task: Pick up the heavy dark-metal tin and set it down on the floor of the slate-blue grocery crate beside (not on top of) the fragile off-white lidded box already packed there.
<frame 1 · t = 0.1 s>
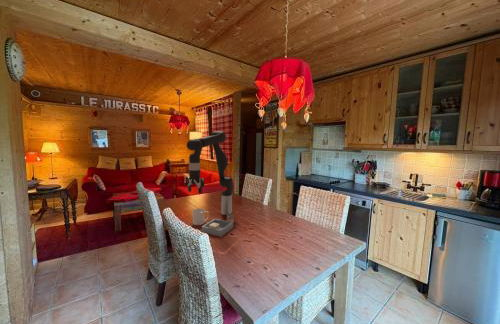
hand: (194, 192, 142), 29 cm above the table, fingers open, 8 cm apart
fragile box: (214, 232, 145), point 1 cm above the table, touching crate, lid
tin: (230, 225, 160), on the table
crate: (217, 230, 149), on the table
lid: (214, 225, 144), point 6 cm above the table, touching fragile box
mug: (200, 224, 161), on the table
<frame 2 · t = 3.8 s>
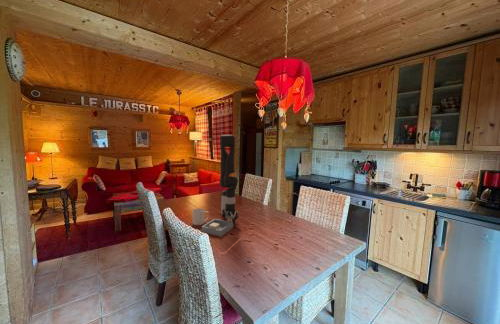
hand: (230, 223, 160), 1 cm above the table, fingers closed on tin, 5 cm apart
tin: (230, 225, 160), on the table, touching gripper
everything else where it was.
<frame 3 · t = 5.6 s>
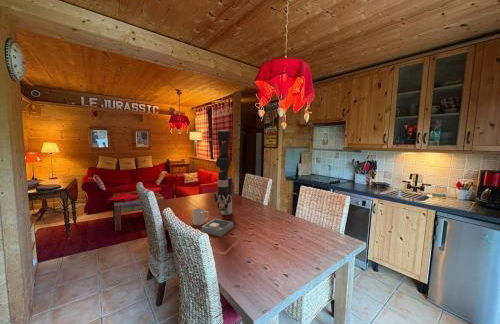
hand: (222, 207, 152), 16 cm above the table, fingers closed on tin, 5 cm apart
tin: (222, 209, 152), point 14 cm above the table, touching gripper
everything else where it was.
when the fingers open (3 cm above the table, at t = 7.8 s): tin stays where it is, resting on crate.
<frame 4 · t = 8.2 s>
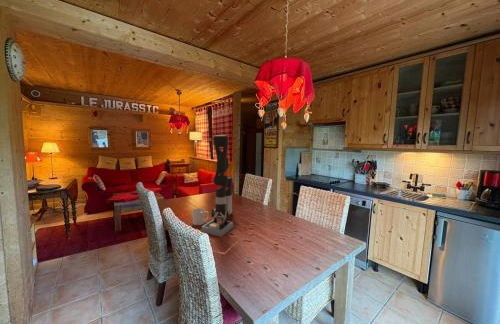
hand: (220, 223, 152), 4 cm above the table, fingers open, 8 cm apart
tin: (220, 227, 152), point 1 cm above the table, touching crate
everything else where it was.
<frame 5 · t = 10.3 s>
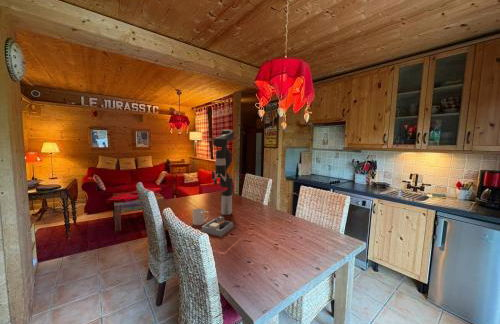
hand: (220, 185, 156), 32 cm above the table, fingers open, 8 cm apart
nothing on the table moved.
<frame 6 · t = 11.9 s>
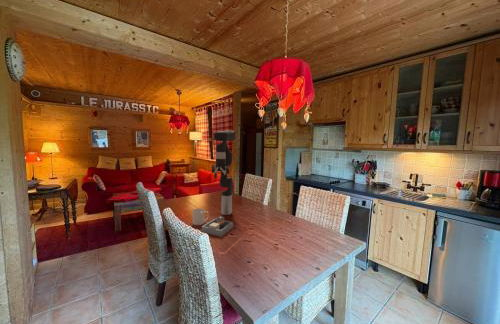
hand: (220, 179, 158), 36 cm above the table, fingers open, 8 cm apart
nothing on the table moved.
at the end: tin inside the target area on the crate (0.6 cm from its centre), point 1.0 cm above the crate's base; tin tilted 1°; lid moved 0.0 cm from its start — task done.
